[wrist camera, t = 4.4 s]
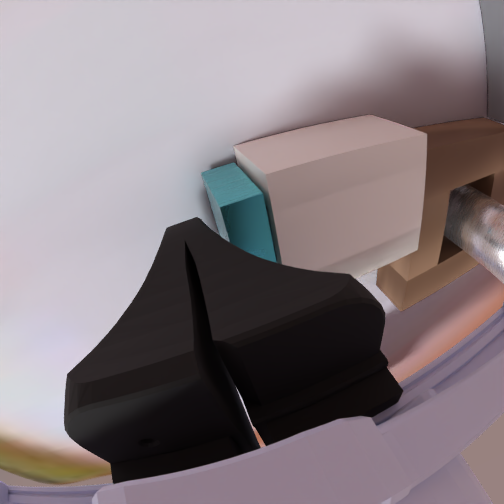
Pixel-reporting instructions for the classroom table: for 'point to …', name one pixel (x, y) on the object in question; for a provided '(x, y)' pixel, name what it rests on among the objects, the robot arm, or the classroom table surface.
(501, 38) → the block
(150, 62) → the classroom table surface
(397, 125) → the block
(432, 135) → the socket block
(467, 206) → the steel peg
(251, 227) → the key
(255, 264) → the robot arm
